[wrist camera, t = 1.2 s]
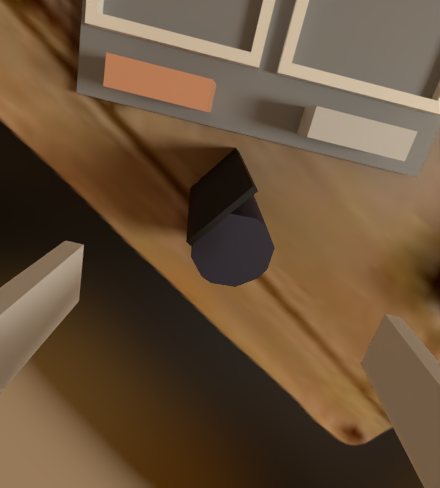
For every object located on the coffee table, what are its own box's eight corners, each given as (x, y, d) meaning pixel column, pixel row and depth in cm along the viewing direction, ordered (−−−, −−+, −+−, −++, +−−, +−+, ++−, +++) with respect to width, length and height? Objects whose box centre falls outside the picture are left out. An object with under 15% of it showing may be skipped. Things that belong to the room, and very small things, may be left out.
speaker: (174, 171, 29) (160, 213, 19) (237, 146, 28) (253, 178, 19) (207, 244, 32) (207, 311, 23) (264, 224, 31) (289, 284, 22)
